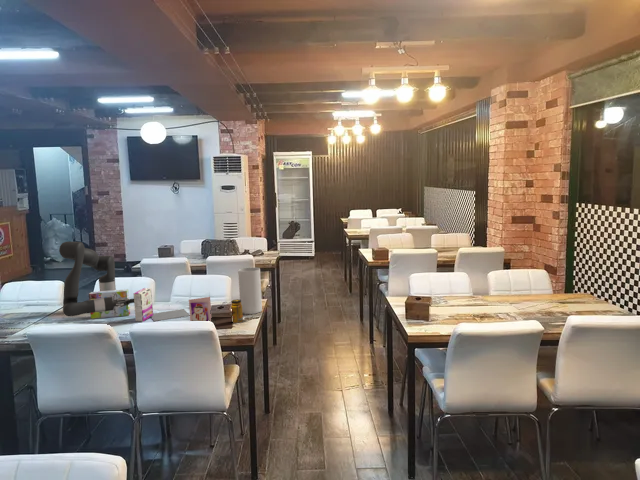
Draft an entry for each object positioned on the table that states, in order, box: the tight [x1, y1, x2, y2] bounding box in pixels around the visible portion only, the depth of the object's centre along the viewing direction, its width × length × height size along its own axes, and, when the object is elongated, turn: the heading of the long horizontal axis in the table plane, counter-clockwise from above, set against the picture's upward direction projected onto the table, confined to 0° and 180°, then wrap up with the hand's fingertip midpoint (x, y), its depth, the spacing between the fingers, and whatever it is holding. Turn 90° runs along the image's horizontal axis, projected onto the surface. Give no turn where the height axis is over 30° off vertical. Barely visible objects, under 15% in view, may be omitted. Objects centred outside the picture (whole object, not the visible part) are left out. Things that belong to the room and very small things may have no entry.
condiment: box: [230, 298, 249, 325], centre depth 274 cm, size 7×8×12 cm
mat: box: [150, 308, 190, 322], centre depth 292 cm, size 20×17×1 cm
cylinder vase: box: [237, 267, 263, 315], centre depth 292 cm, size 12×12×25 cm
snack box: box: [88, 288, 131, 320], centre depth 295 cm, size 21×6×15 cm, turn 100°
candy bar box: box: [133, 287, 154, 323], centre depth 284 cm, size 11×5×16 cm, turn 169°
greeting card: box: [188, 296, 212, 322], centre depth 267 cm, size 11×7×15 cm, turn 82°
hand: (136, 300), depth 283 cm, fingers closed
